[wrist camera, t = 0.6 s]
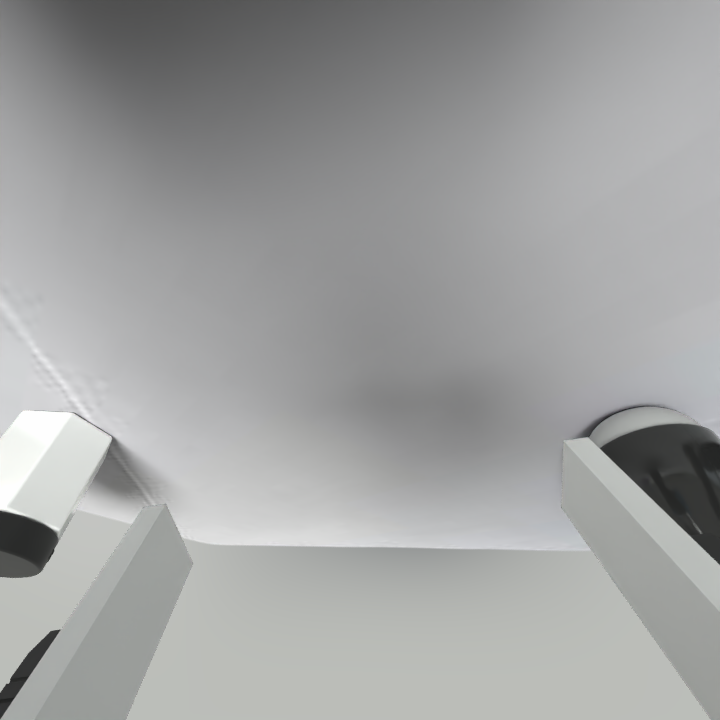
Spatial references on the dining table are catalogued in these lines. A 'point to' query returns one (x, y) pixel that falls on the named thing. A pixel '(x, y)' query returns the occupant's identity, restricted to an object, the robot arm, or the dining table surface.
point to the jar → (43, 484)
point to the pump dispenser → (668, 462)
